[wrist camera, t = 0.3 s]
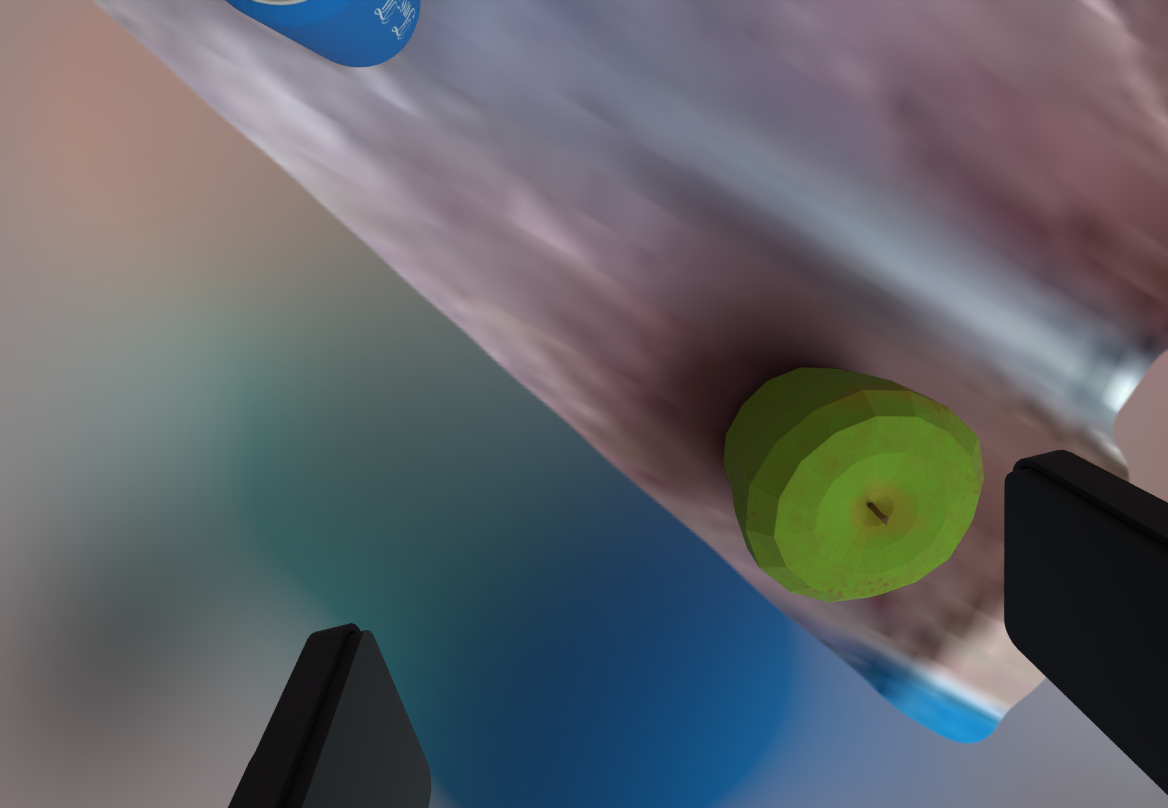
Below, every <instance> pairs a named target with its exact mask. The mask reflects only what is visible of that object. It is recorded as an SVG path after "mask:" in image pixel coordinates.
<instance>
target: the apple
mask: <svg viewBox="0 0 1168 808" xmlns="http://www.w3.org/2000/svg"><path fill="white" fill-rule="evenodd" d="M723 466H724V469H725V472H726V475H727V478H728V480H729V483H730V486H731V489H732V493H733V501H734V509H735V513H736V516H737V519H738V522H739V525H740V528H741V531H742V534H743V537H744V540H745V543H746V546H747V548H748V550H749V552H750V553H751V555H752V557H753V558H754V560H755V561H756V563H757V565H758V566H759V568H761V569H762V570H763V571H764V572H766V573H767V574H768V575H769V576H771V577H772V578H773V579H775V580H776V581H777V582H778V583H780V584H781V585H782V586H783V587H785V588H786V589H787V590H789V591H790V592H793V593H797V594H801V595H804V596H808V597H811V598H815V599H819V600H822V601H826V602H834V601H842V600H851V599H859V598H867V597H872V596H876V595H879V594H882V593H885V592H888V591H891V590H894V589H897V588H900V587H903V586H906V585H908V584H911V583H914V582H917V581H918V580H919V579H921V578H922V577H924V576H925V575H926V574H928V573H929V572H931V571H932V570H933V569H935V568H936V567H938V566H939V565H941V564H942V563H943V562H945V561H946V560H948V559H949V557H950V556H951V554H952V553H953V551H954V550H955V548H956V547H957V545H958V544H959V542H960V540H961V539H962V537H963V536H964V534H965V533H966V531H967V530H968V528H969V527H970V524H971V522H972V520H973V517H974V513H975V509H976V506H977V502H978V499H979V495H980V492H981V488H982V484H983V481H984V471H983V464H982V457H981V451H980V444H979V438H978V436H977V435H976V434H975V433H974V432H973V431H972V430H971V429H970V428H969V427H968V426H967V425H966V424H965V423H964V422H963V421H962V420H961V419H960V418H959V417H958V416H957V415H956V414H955V413H954V412H953V411H952V410H951V409H950V408H948V407H946V406H944V405H942V404H940V403H938V402H937V401H935V400H933V399H931V398H929V397H927V396H924V395H922V394H920V393H918V392H915V391H913V390H911V389H909V388H906V387H904V386H902V385H900V384H897V383H895V382H893V381H891V380H886V379H882V378H878V377H874V376H870V375H865V374H861V373H856V372H851V371H846V370H841V369H836V368H803V367H801V368H798V369H796V370H793V371H791V372H788V373H785V374H783V375H780V376H778V377H775V378H772V379H770V380H768V381H767V382H765V383H764V384H763V385H762V386H761V387H760V388H759V389H758V390H757V391H756V392H755V393H754V394H753V395H752V396H751V397H750V398H749V399H748V400H747V401H746V402H745V403H744V404H743V405H742V406H741V408H740V410H739V412H738V414H737V415H736V417H735V419H734V421H733V423H732V425H731V426H730V428H729V430H728V432H727V434H726V440H725V452H724V465H723Z"/></svg>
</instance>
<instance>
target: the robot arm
mask: <svg viewBox="0 0 1168 808" xmlns="http://www.w3.org/2000/svg"><path fill="white" fill-rule="evenodd" d="M1004 622H1005V628H1006V631H1007V633H1008V635H1009V637H1010V639H1011V641H1012V642H1013V644H1014V645H1015V646H1016V648H1017V649H1018V650H1019V651H1020V652H1021V653H1022V654H1023V655H1024V656H1025V657H1026V658H1027V659H1028V660H1030V661H1031V662H1032V663H1033V664H1034V665H1035V666H1036V667H1037V668H1038V669H1039V670H1040V671H1041V672H1042V673H1043V674H1044V675H1045V676H1046V677H1047V678H1048V679H1049V680H1050V681H1051V682H1052V683H1053V684H1054V685H1055V686H1056V687H1057V688H1058V689H1059V690H1060V691H1061V692H1062V693H1063V694H1064V695H1066V696H1067V698H1069V699H1070V700H1071V701H1072V702H1073V703H1074V704H1075V705H1076V706H1077V707H1078V708H1079V709H1080V710H1081V711H1082V712H1083V713H1084V714H1085V715H1086V716H1087V717H1088V718H1089V719H1090V720H1091V721H1092V722H1093V723H1094V724H1095V725H1096V726H1097V727H1098V728H1099V729H1100V730H1101V731H1102V732H1103V733H1104V734H1105V735H1107V736H1108V737H1109V738H1110V739H1111V740H1112V741H1113V742H1114V743H1115V744H1116V745H1117V746H1118V747H1119V748H1120V749H1121V750H1122V751H1123V752H1124V753H1125V754H1126V755H1127V756H1128V757H1129V758H1130V759H1131V760H1132V761H1133V762H1134V763H1135V764H1136V765H1137V766H1138V767H1139V768H1141V769H1142V770H1143V771H1144V773H1146V774H1147V775H1148V776H1149V777H1150V778H1151V779H1152V780H1153V781H1154V782H1155V783H1156V784H1157V785H1158V786H1159V787H1160V788H1161V789H1162V790H1163V791H1164V792H1165V793H1166V794H1167V795H1168V503H1167V502H1165V501H1163V500H1162V499H1160V498H1158V497H1156V496H1154V495H1152V494H1150V493H1148V492H1146V491H1144V490H1142V489H1140V488H1138V487H1136V486H1134V485H1133V484H1131V483H1129V482H1127V481H1125V480H1123V479H1121V478H1119V477H1117V476H1115V475H1113V474H1112V473H1110V472H1108V471H1106V470H1104V469H1102V468H1100V467H1098V466H1096V465H1094V464H1092V463H1090V462H1088V461H1086V460H1085V459H1083V458H1081V457H1079V456H1077V455H1075V454H1073V453H1071V452H1068V451H1065V450H1056V451H1052V452H1048V453H1044V454H1040V455H1036V456H1032V457H1028V458H1024V459H1020V460H1019V461H1017V462H1016V464H1015V465H1014V467H1013V472H1010V473H1009V474H1007V476H1006V478H1005V506H1004ZM430 793H431V777H430V770H429V766H428V763H427V760H426V758H425V756H424V753H423V751H422V749H421V746H420V744H419V741H418V739H417V737H416V734H415V732H414V730H413V727H412V725H411V722H410V720H409V718H408V715H407V713H406V711H405V708H404V706H403V704H402V701H401V699H400V697H399V694H398V692H397V689H396V687H395V685H394V682H393V680H392V678H391V675H390V673H389V670H388V668H387V666H386V663H385V661H384V659H383V656H382V654H381V652H380V649H379V647H378V645H377V643H376V640H375V638H374V636H373V634H372V633H371V632H370V631H368V630H365V631H360V630H359V628H358V627H357V626H356V625H355V624H352V623H350V624H346V625H342V626H338V627H334V628H330V629H326V630H321V631H317V632H314V633H312V634H311V635H310V636H309V638H308V639H307V641H306V643H305V646H304V648H303V650H302V652H301V654H300V656H299V659H298V661H297V663H296V665H295V667H294V669H293V672H292V674H291V676H290V678H289V680H288V683H287V684H286V687H285V689H284V691H283V693H282V695H281V697H280V700H279V702H278V704H277V706H276V708H275V710H274V713H273V715H272V717H271V719H270V721H269V723H268V726H267V728H266V730H265V732H264V734H263V736H262V738H261V741H260V743H259V745H258V747H257V749H256V752H255V753H254V755H253V757H252V758H251V760H250V761H249V763H248V766H247V768H246V770H245V772H244V774H243V776H242V778H241V781H240V783H239V785H238V787H237V789H236V791H235V794H234V796H233V798H232V800H231V802H230V804H229V806H228V808H428V807H429V801H430Z"/></svg>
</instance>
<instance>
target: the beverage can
mask: <svg viewBox="0 0 1168 808" xmlns="http://www.w3.org/2000/svg"><path fill="white" fill-rule="evenodd" d="M226 1H227V2H228V3H229V4H231V5H232V6H233V7H235V8H236V9H238V10H239V11H241V12H243V13H244V14H246V15H248V16H249V17H251V18H253V19H255V20H257V21H259V22H260V23H262V24H264V25H266V26H268V27H270V28H271V29H273V30H275V31H277V32H279V33H281V34H282V35H284V36H286V37H288V38H290V39H292V40H294V41H295V42H297V43H299V44H301V45H303V46H305V47H306V48H308V49H310V50H312V51H314V52H316V53H317V54H319V55H321V56H323V57H325V58H327V59H329V60H331V61H333V62H335V63H338V64H341V65H345V66H350V67H370V66H374V65H378V64H380V63H383V62H385V61H387V60H389V59H390V58H392V57H394V56H395V55H396V54H397V53H398V52H400V51H401V50H402V48H403V47H404V46H405V45H406V44H407V42H408V41H409V39H410V38H411V36H412V34H413V32H414V30H415V27H416V24H417V21H418V17H419V12H420V0H226Z"/></svg>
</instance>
